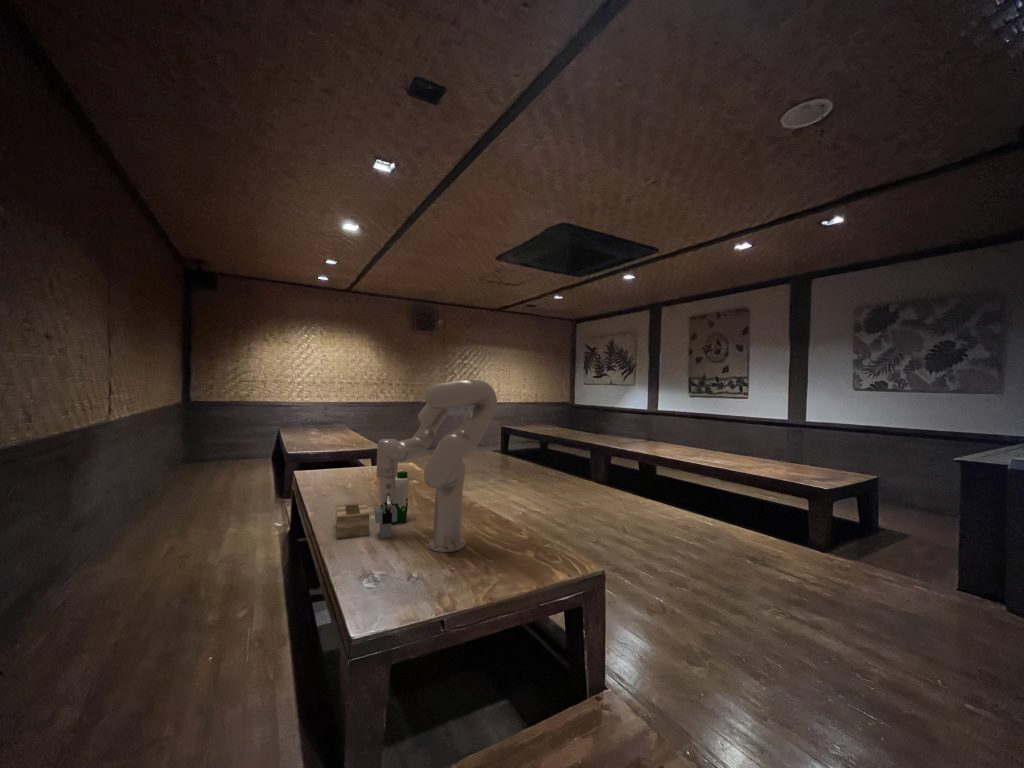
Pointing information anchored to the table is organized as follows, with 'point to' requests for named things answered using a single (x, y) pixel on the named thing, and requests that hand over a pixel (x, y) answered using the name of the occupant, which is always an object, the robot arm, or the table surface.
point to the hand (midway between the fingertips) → (385, 520)
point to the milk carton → (401, 497)
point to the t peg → (384, 528)
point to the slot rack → (352, 521)
